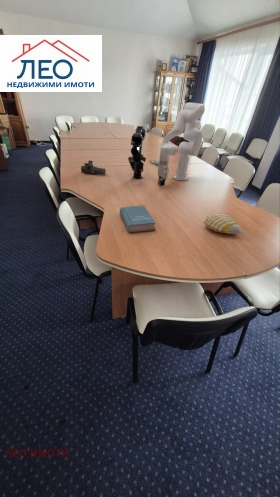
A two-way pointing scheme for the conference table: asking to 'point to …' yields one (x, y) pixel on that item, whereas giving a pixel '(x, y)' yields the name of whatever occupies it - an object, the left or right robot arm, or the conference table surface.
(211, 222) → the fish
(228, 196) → the conference table surface
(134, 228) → the book
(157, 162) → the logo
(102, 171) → the laser sight
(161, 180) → the grey metal block
